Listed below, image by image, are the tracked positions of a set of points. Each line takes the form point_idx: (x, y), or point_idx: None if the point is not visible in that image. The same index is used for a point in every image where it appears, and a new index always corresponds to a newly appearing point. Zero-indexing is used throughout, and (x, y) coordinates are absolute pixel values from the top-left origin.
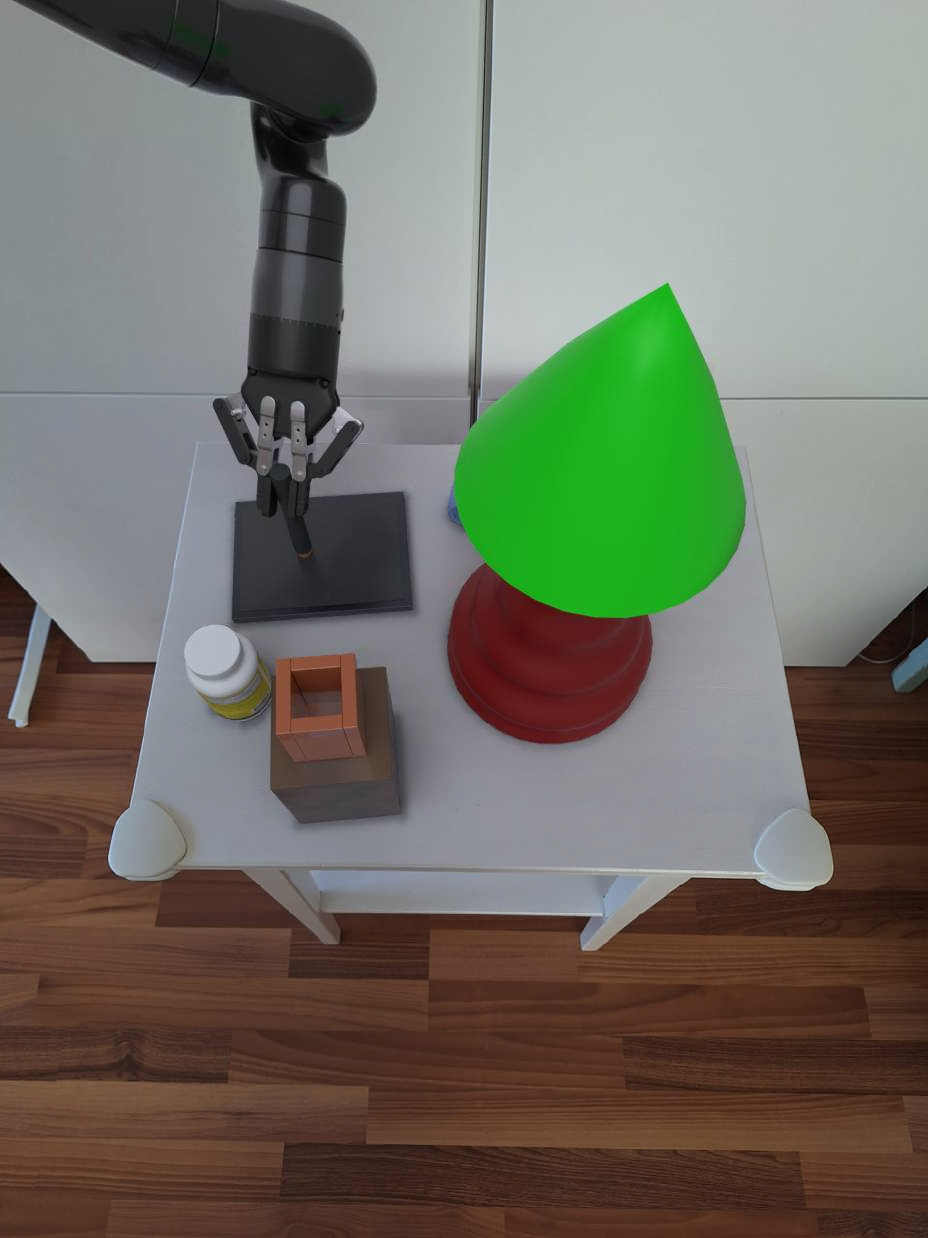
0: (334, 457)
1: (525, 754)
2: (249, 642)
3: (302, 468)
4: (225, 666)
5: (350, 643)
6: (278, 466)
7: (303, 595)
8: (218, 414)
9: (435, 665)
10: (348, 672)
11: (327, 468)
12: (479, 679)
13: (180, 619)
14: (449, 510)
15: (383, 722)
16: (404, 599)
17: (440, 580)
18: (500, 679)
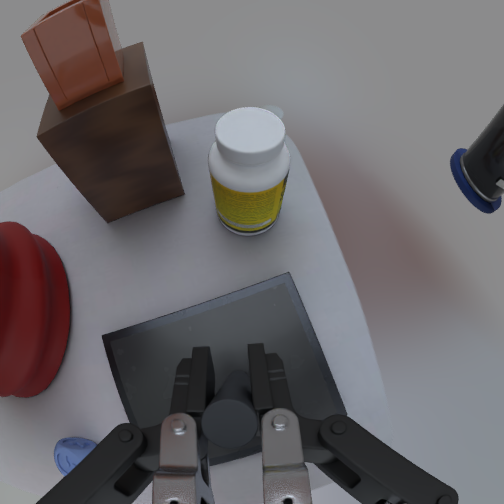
0: (87, 463)
1: (29, 228)
2: (223, 178)
3: (169, 441)
4: (226, 117)
5: (156, 285)
6: (238, 437)
7: (219, 322)
8: (436, 484)
9: (80, 281)
10: (32, 25)
11: (106, 442)
12: (21, 238)
13: (341, 264)
14: (88, 448)
15: (50, 100)
16: (109, 342)
17: (89, 375)
18: (4, 234)
